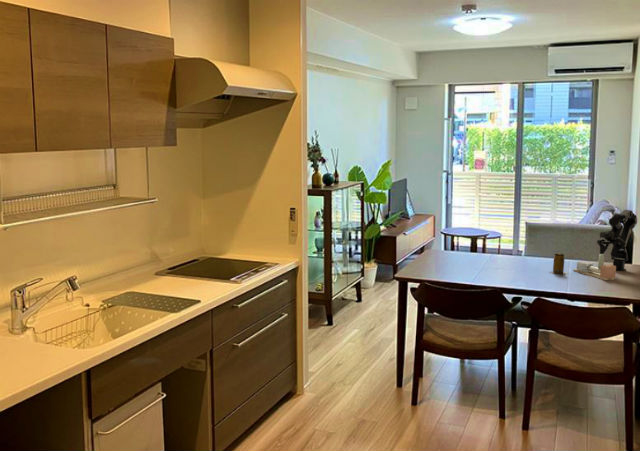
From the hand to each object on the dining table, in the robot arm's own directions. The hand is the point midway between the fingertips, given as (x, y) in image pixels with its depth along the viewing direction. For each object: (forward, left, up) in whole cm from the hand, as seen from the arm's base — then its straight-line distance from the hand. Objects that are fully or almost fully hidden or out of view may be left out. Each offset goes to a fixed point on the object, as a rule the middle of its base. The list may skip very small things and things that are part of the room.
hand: (605, 255), depth 380 cm
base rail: (+7, -1, -12) cm, 14 cm away
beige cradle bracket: (+7, +2, -10) cm, 13 cm away
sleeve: (+7, -8, -11) cm, 16 cm away
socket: (+7, +9, -11) cm, 16 cm away
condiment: (+24, -12, -12) cm, 29 cm away
